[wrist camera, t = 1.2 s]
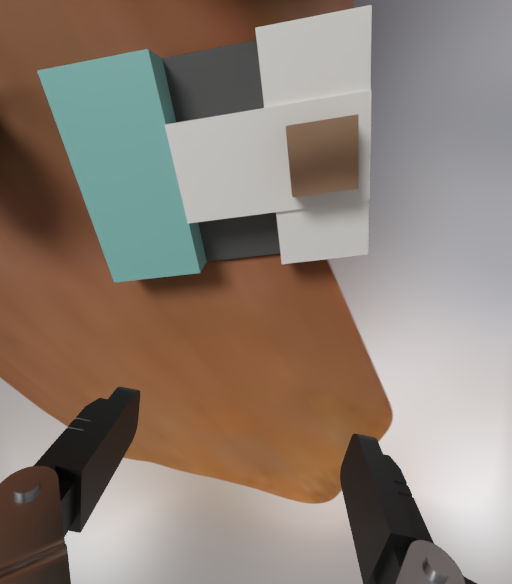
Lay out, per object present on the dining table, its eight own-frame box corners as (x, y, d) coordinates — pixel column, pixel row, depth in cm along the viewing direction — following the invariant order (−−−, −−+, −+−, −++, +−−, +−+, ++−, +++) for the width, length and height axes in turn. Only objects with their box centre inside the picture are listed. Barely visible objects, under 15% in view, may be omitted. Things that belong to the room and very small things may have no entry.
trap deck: (65, 78, 28) (34, 70, 24) (359, 22, 25) (372, 3, 21) (129, 268, 36) (112, 283, 32) (359, 242, 33) (369, 255, 29)
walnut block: (285, 126, 25) (286, 125, 23) (351, 116, 24) (358, 114, 22) (291, 192, 27) (292, 197, 25) (351, 184, 26) (358, 188, 24)
